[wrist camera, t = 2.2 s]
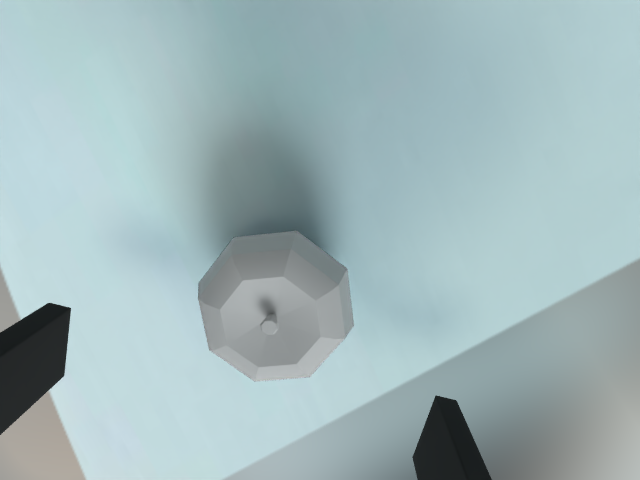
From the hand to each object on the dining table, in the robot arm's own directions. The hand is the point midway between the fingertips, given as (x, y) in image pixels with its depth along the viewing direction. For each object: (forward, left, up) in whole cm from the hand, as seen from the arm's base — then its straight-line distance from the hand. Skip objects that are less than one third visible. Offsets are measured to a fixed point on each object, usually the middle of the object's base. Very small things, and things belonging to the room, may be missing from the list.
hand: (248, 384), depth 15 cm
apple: (0, 0, -11) cm, 11 cm away
